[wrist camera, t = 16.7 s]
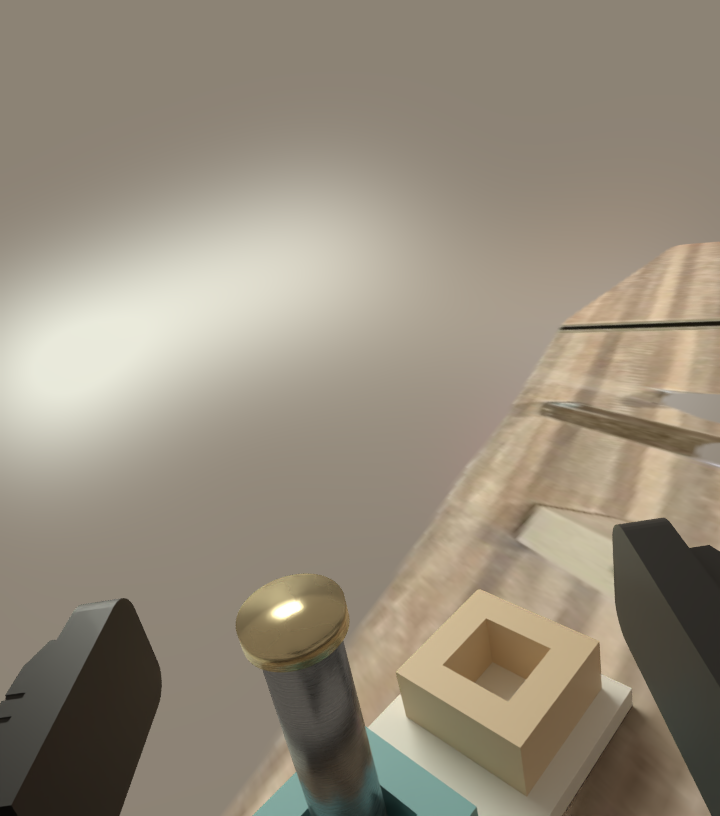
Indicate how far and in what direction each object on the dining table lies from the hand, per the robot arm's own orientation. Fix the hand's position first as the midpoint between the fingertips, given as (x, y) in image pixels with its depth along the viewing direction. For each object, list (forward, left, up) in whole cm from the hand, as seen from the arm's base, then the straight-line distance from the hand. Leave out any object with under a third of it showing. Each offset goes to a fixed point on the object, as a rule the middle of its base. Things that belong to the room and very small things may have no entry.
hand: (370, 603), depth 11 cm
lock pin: (-5, -13, -28) cm, 32 cm away
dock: (-11, -13, -30) cm, 34 cm away
